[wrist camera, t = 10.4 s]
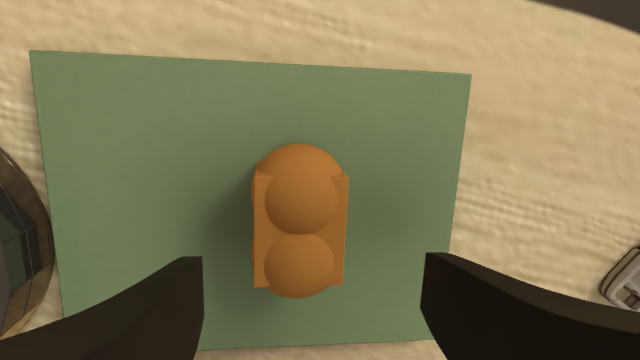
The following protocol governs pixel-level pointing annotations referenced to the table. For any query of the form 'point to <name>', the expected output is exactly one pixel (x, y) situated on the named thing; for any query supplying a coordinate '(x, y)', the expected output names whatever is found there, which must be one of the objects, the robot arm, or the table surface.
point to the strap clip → (625, 281)
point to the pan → (21, 248)
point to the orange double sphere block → (298, 221)
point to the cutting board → (246, 184)
